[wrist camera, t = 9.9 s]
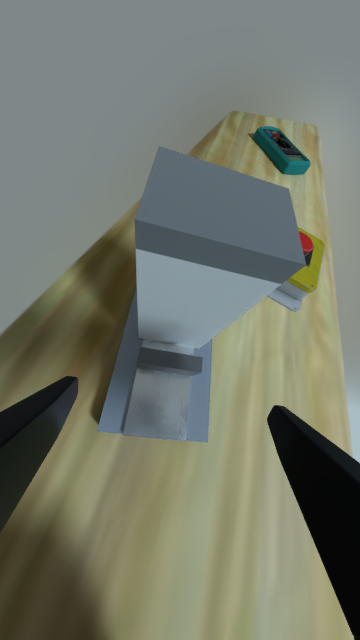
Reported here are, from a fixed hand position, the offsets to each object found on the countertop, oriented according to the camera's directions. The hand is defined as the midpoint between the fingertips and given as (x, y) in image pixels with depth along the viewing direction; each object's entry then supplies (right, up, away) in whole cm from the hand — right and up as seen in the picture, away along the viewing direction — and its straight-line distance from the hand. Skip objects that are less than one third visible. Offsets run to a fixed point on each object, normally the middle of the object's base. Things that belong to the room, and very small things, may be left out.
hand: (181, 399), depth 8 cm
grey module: (-1, +3, +10) cm, 11 cm away
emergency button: (+16, +12, +21) cm, 29 cm away
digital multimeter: (+24, +43, +36) cm, 61 cm away
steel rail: (-1, +1, +9) cm, 10 cm away
